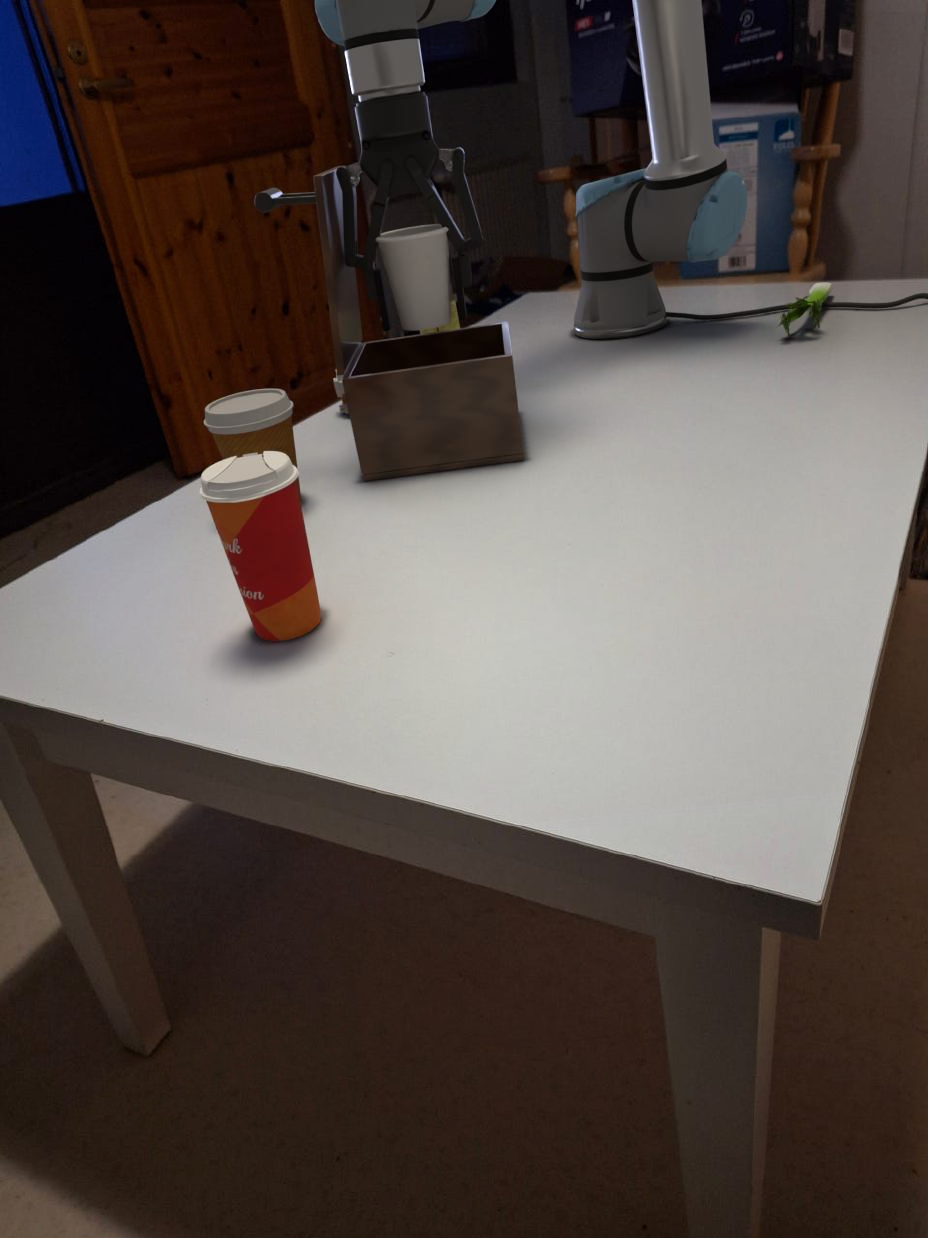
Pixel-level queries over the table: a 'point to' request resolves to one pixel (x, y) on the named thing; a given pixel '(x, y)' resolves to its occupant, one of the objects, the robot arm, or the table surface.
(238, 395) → the disposable coffee cup
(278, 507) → the paper cup
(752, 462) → the table surface
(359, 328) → the lid
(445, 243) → the dixie cup
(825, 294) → the leek
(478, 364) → the chest
